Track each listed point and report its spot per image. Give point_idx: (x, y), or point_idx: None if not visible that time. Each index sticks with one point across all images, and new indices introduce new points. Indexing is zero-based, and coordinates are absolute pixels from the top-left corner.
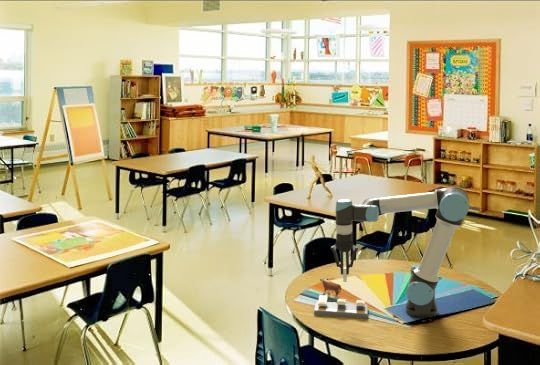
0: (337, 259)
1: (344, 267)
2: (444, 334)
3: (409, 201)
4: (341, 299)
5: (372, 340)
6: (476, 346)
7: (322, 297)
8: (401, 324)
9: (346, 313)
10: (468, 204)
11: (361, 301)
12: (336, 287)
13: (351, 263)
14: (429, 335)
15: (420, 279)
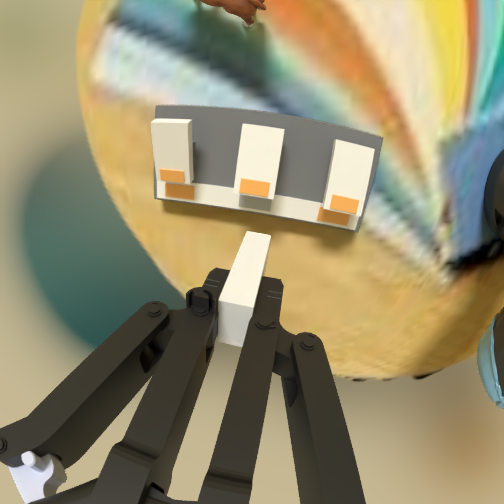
0: (130, 398)
1: (230, 319)
2: (484, 315)
3: None
4: (260, 136)
5: (325, 345)
6: None
7: (166, 138)
8: (437, 271)
9: (277, 216)
10: None
11: (355, 171)
12: (239, 11)
13: (294, 399)
14: (458, 321)
15: None
